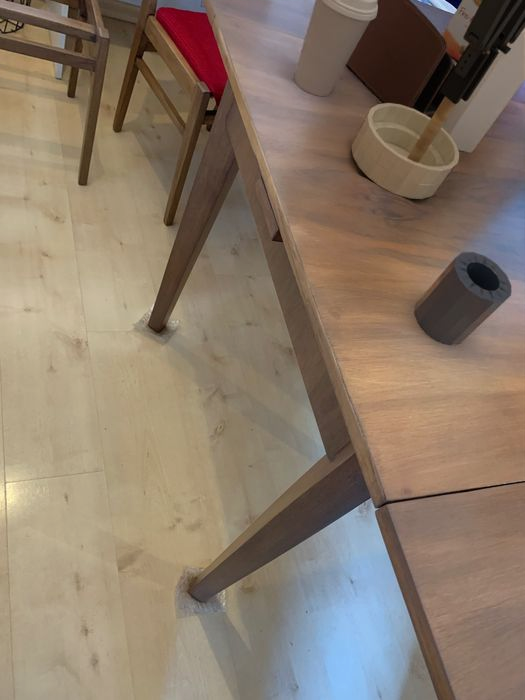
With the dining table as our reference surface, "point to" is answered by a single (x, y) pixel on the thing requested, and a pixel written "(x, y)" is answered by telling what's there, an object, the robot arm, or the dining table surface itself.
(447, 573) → the dining table surface
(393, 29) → the letter holder
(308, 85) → the coffee cup
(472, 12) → the cracker box
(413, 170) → the bowl
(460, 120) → the milk
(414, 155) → the stick
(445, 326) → the crock
